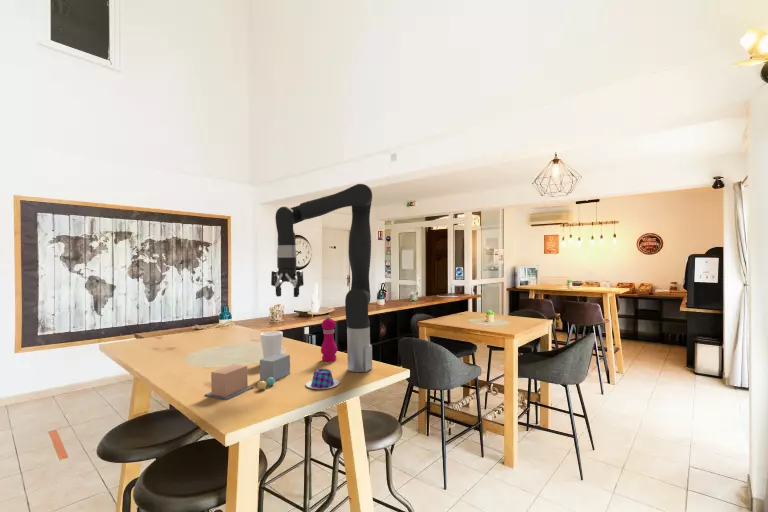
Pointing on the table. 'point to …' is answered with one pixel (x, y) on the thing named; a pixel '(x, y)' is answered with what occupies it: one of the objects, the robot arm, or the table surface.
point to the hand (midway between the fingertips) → (287, 296)
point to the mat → (230, 395)
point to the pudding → (322, 380)
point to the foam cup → (271, 343)
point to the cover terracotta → (228, 380)
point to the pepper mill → (328, 340)
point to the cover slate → (275, 366)
